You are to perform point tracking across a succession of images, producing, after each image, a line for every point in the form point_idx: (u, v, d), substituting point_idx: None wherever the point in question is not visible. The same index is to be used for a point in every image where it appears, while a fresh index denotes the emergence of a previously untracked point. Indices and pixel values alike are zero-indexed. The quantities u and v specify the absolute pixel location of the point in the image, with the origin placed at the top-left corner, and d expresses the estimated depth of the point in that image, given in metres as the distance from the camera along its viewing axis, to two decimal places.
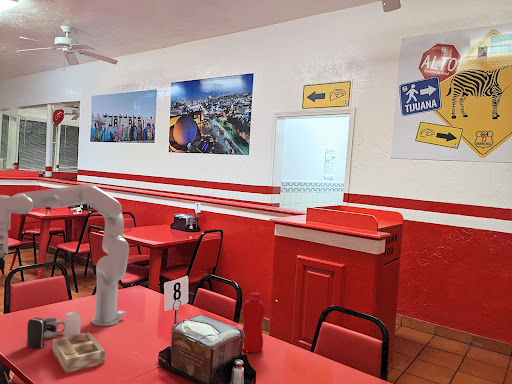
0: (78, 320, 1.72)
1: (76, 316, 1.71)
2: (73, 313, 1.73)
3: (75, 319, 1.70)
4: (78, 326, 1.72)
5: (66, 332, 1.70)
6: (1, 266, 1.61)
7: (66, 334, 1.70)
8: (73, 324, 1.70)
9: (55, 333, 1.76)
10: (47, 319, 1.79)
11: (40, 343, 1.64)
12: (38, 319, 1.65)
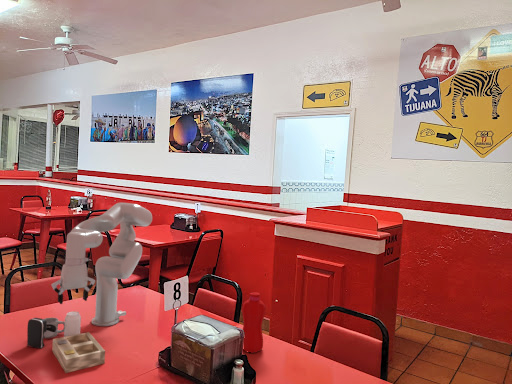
0: (78, 320, 1.72)
1: (76, 316, 1.71)
2: (73, 313, 1.73)
3: (75, 319, 1.70)
4: (78, 326, 1.72)
5: (66, 332, 1.70)
6: None
7: (66, 334, 1.70)
8: (73, 324, 1.70)
9: (55, 333, 1.76)
10: (47, 319, 1.79)
11: (40, 343, 1.64)
12: (38, 319, 1.65)
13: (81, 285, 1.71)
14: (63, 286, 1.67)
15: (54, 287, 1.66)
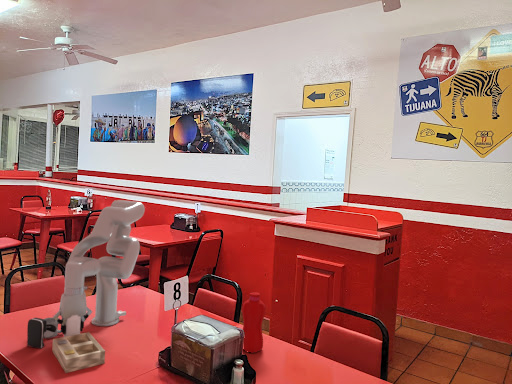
0: (78, 320, 1.72)
1: (76, 316, 1.71)
2: None
3: (75, 319, 1.70)
4: (78, 326, 1.72)
5: (66, 332, 1.70)
6: None
7: (66, 334, 1.70)
8: (73, 324, 1.70)
9: (55, 333, 1.76)
10: (47, 319, 1.79)
11: (40, 343, 1.64)
12: (38, 319, 1.65)
13: (80, 314, 1.72)
14: (62, 316, 1.68)
15: (56, 319, 1.68)
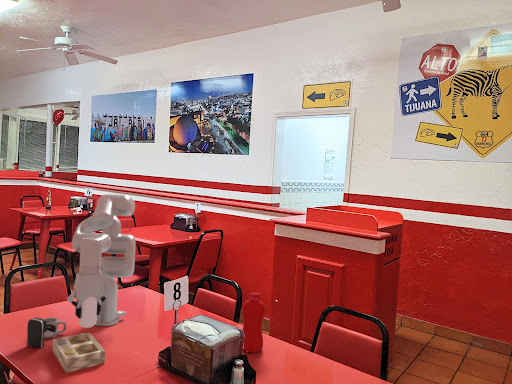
0: (95, 302, 1.54)
1: (92, 298, 1.54)
2: None
3: (91, 301, 1.53)
4: (95, 309, 1.55)
5: (81, 315, 1.53)
6: None
7: (81, 318, 1.53)
8: (89, 307, 1.53)
9: (55, 333, 1.76)
10: (47, 319, 1.79)
11: (40, 343, 1.64)
12: (38, 319, 1.65)
13: (97, 296, 1.55)
14: (77, 297, 1.51)
15: (71, 301, 1.51)
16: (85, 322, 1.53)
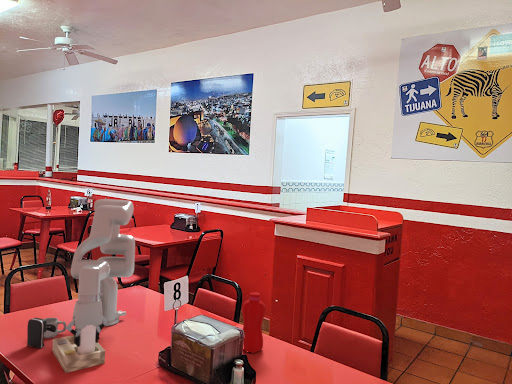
0: (93, 330, 1.55)
1: (91, 326, 1.54)
2: None
3: (89, 329, 1.54)
4: (93, 337, 1.55)
5: (80, 344, 1.53)
6: None
7: (80, 346, 1.53)
8: (88, 335, 1.53)
9: (55, 333, 1.76)
10: (47, 319, 1.79)
11: (40, 343, 1.64)
12: (38, 319, 1.65)
13: (95, 324, 1.56)
14: (76, 326, 1.51)
15: (69, 329, 1.51)
16: (83, 350, 1.53)
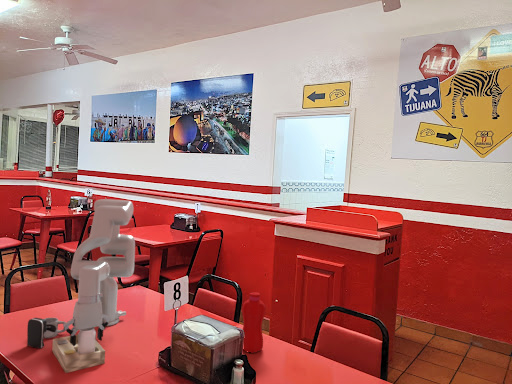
0: (93, 336, 1.55)
1: (91, 331, 1.55)
2: None
3: (89, 335, 1.54)
4: (93, 342, 1.55)
5: (80, 349, 1.54)
6: None
7: (80, 351, 1.54)
8: (87, 340, 1.54)
9: (55, 333, 1.76)
10: (47, 319, 1.79)
11: (40, 343, 1.64)
12: (38, 319, 1.65)
13: (95, 324, 1.56)
14: (76, 326, 1.51)
15: (66, 328, 1.50)
16: None
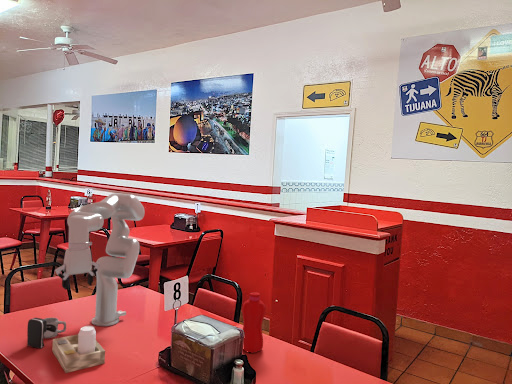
0: (93, 336, 1.55)
1: (91, 331, 1.55)
2: (87, 328, 1.57)
3: (89, 335, 1.54)
4: (93, 342, 1.56)
5: (80, 349, 1.54)
6: None
7: (80, 351, 1.54)
8: (87, 340, 1.54)
9: (55, 333, 1.76)
10: (47, 319, 1.79)
11: (40, 343, 1.64)
12: (38, 319, 1.65)
13: (85, 270, 1.66)
14: (67, 271, 1.62)
15: (58, 273, 1.61)
16: None
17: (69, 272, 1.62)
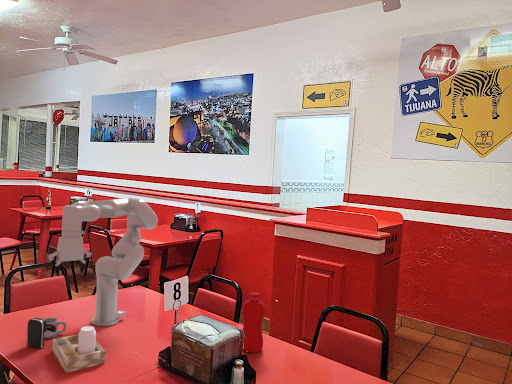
0: (93, 336, 1.55)
1: (91, 331, 1.55)
2: (88, 328, 1.57)
3: (89, 335, 1.54)
4: (93, 342, 1.56)
5: (80, 349, 1.54)
6: None
7: (80, 351, 1.54)
8: (87, 340, 1.54)
9: (55, 333, 1.76)
10: (47, 319, 1.79)
11: (40, 343, 1.64)
12: (38, 319, 1.65)
13: (77, 257, 1.73)
14: (60, 258, 1.69)
15: (51, 259, 1.68)
16: None
17: (61, 259, 1.69)
